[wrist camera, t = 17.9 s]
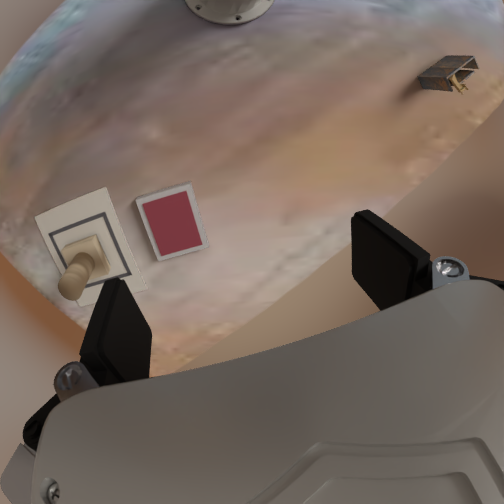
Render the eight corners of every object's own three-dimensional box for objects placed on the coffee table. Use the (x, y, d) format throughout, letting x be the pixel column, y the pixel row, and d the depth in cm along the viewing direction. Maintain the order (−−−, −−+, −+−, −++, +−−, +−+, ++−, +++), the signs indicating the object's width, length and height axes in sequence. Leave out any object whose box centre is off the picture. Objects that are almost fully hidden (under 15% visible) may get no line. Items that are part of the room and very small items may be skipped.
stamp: (66, 243, 38) (43, 275, 30) (96, 232, 38) (76, 264, 30) (82, 274, 41) (64, 311, 33) (111, 265, 41) (97, 302, 33)
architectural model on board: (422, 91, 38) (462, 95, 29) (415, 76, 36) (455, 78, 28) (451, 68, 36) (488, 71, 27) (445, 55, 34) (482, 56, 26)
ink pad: (137, 197, 38) (135, 200, 36) (190, 180, 38) (190, 183, 37) (159, 256, 43) (158, 262, 41) (208, 242, 43) (209, 247, 42)
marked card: (35, 216, 35) (34, 217, 35) (106, 186, 36) (105, 187, 36) (80, 305, 44) (80, 307, 44) (147, 288, 45) (147, 289, 45)
